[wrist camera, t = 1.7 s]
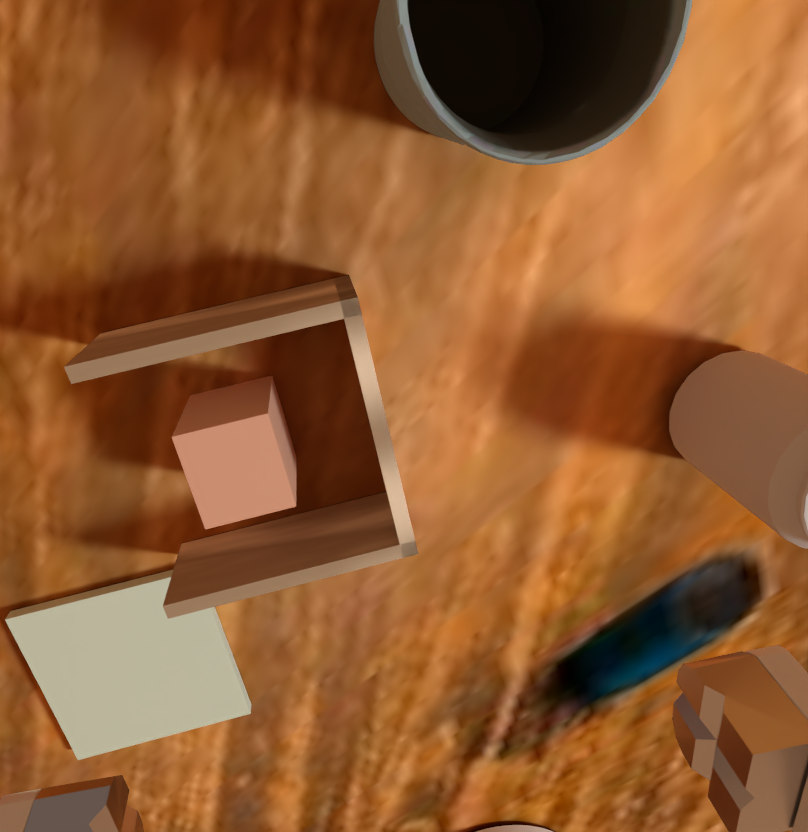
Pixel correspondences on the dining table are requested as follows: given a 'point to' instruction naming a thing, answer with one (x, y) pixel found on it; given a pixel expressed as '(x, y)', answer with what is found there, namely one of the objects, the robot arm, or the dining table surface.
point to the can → (749, 435)
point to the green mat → (128, 665)
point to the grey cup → (527, 70)
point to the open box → (291, 536)
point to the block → (237, 452)
